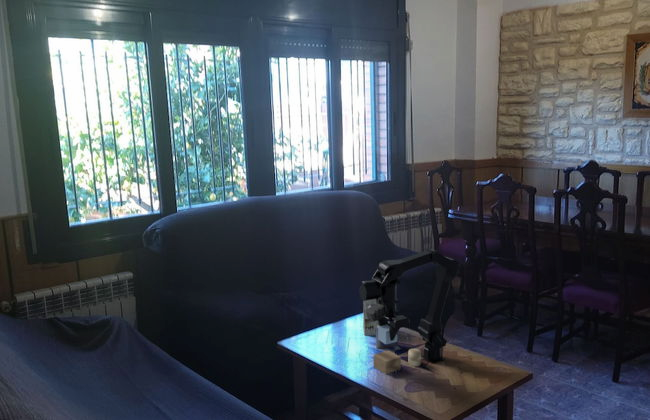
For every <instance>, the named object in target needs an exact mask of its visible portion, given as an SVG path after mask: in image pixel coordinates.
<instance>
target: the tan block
mask: <svg viewBox="0 0 650 420" xmlns="http://www.w3.org/2000/svg"><path fill="white" fill-rule="evenodd" d="M401 361H402V357H401V356H400V355H397V354H396V353H394V352H392V351H390V350H389V349H388V350H385V351H381V352H378V353H375V354H373V368H374V367H375V368H374V369H376V370H377V371H379V370H380V372H381V373H382V372H383V374H384V373H385V374H384V375H388V374H391V373H394V371H395V372H397V370H398V371H400V369H402V367H401V365H402V362H401ZM390 372H391V373H390Z"/></svg>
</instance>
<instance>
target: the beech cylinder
mask: <svg viewBox="0 0 650 420" xmlns="http://www.w3.org/2000/svg"><path fill="white" fill-rule="evenodd" d="M407 355H408V356H407V357H408V358H407V359H408V361H407V362H408V363H407V364H408V365H409V366H410V367H420V366H421V364H422V350H421V349H419V348H410V349H408V354H407Z"/></svg>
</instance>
